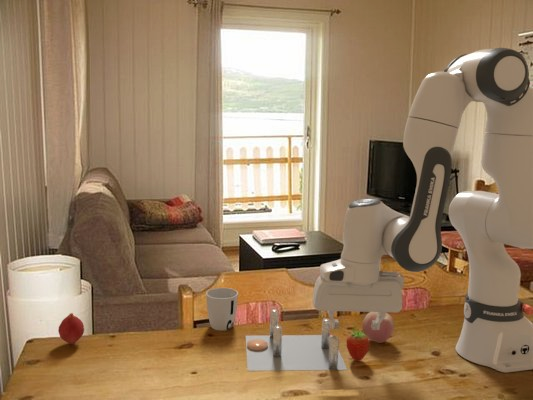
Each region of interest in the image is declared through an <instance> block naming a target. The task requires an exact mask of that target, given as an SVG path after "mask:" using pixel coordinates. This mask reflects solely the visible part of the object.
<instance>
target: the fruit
mask: <svg viewBox="0 0 533 400" xmlns="http://www.w3.org/2000/svg"><path fill="white" fill-rule="evenodd" d="M352 331H353V332H349V331H348V336H347V338H346V348H347V351H348V354H349V356H350V358H352V359H353V360H354V361H357V362H360V361H362V360H363V359H364V358H365V356H366V355H367V353H368V352H369V349H370V339H368V338H367V337H366V336H368V335H365V334H364V332H363V329H362V330H360V331H359V328H357V329H355V327H353V328H352Z"/></svg>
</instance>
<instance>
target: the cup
mask: <svg viewBox="0 0 533 400" xmlns="http://www.w3.org/2000/svg"><path fill="white" fill-rule="evenodd" d="M205 296H206V309H207V315H208V320H209V322H208V323H210V327H211V329H213V330H216V331H221V332H222V331H228V330H231V329H232V328H233V326H234V325H235V324H234V323H235V321H236V314H237V309H238V296H239V292H238V291H237V290H236V289H234V288H230V287H216V288H211V289H208V290H207V291H206V292H205Z"/></svg>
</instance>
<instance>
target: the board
mask: <svg viewBox="0 0 533 400" xmlns="http://www.w3.org/2000/svg"><path fill="white" fill-rule="evenodd" d="M332 336H334V335H333V334H330V337H332ZM254 339H260V340H264V341H266V342H267V343H268V348H267V349H265V350H262V351H253V350H250V349H248V348H247V342H248V341H250V340H254ZM321 342H322V334H304V335H303V334H299V335H298V334H297V335H294V334H291V335H289V334H288V335H287V334H284V335H283V334H282V350H281V357H279V358H275V357H273V339H272V338H270V334H269V335H266V334H265V335H245V349H246V350H245V351H246V364H247V366H246V368H247V372H257V371H258V372H268V371H269V372H273V371H274V372H275V371H277V372H278V371H281V372H282V371H283V372H284V371H285V372H286V371H287V372H288V371H291V372H292V371H293V372H294V371H332V370H331V369H329V368H328V367H329V349H322V348H321ZM335 371H348V369H347V366H346V363H345V360H344V359H343V356H342V355H341V351H340V349H339V348H338V368H337V369H336V370H335Z"/></svg>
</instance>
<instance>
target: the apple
mask: <svg viewBox="0 0 533 400" xmlns="http://www.w3.org/2000/svg"><path fill="white" fill-rule="evenodd" d="M378 315H379V314H378V313H377V312H367V314H366V315H365V317H364V318H363V321H362V328H361V329H362V330H363V332H364V333H363V334H364V335H368V336H366V337H367V338H368V340H369V341H373V342H375V343H376V344H377V343H378V344H381V343H384V342H386V341H387V340H389V339H390V338H391V337H392V335H393V332H394V330H395V321H394V318H393V317H392V316H391V315H390V314H389V313H388V312H386V317H385V318H384V319H383V321H382V322H381V323H380V329H379V330H373V329H372V327H371V325H372V320H376V318H377V317H378Z"/></svg>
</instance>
